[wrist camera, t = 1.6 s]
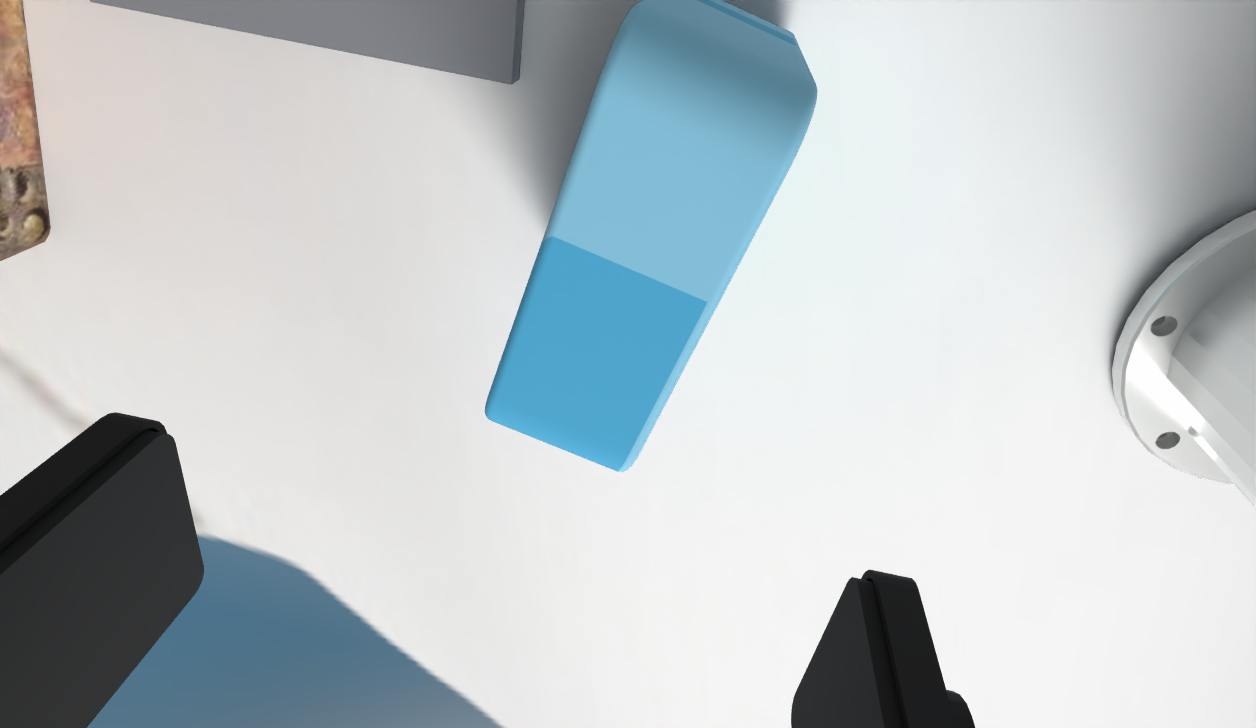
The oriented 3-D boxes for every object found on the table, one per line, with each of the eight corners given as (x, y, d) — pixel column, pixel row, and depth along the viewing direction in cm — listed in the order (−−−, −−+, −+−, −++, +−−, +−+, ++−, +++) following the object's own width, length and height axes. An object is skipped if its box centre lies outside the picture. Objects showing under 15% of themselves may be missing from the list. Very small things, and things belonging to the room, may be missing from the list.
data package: (675, -26, 24) (622, 4, 14) (795, 29, 25) (829, 98, 15) (563, 270, 31) (471, 439, 20) (660, 311, 31) (617, 497, 21)
